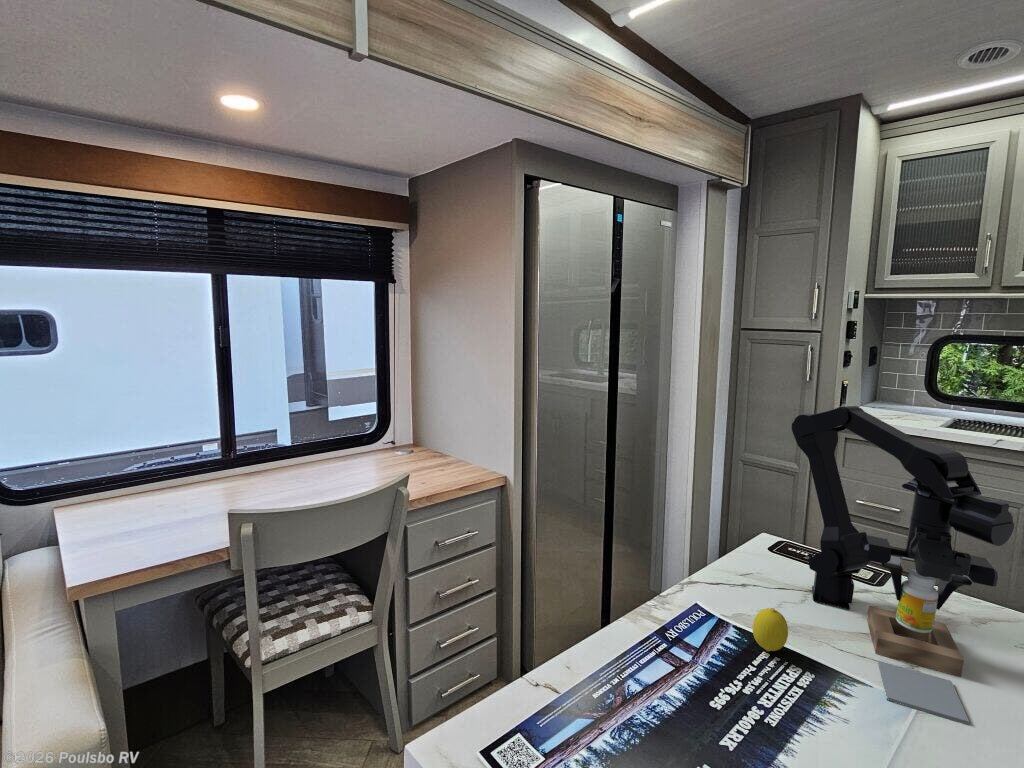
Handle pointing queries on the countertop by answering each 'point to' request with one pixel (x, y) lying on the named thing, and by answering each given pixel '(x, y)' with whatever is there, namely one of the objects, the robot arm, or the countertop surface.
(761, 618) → the lemon
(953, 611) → the countertop surface
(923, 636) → the walnut open tray
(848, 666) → the countertop surface
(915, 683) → the grey rubber mat
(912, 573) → the supplement bottle
